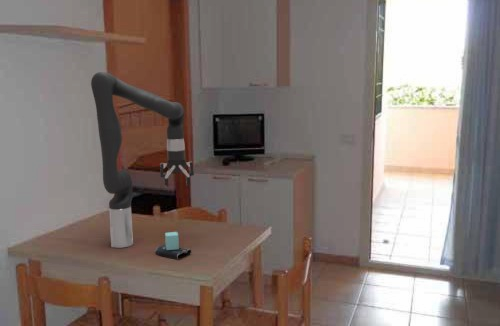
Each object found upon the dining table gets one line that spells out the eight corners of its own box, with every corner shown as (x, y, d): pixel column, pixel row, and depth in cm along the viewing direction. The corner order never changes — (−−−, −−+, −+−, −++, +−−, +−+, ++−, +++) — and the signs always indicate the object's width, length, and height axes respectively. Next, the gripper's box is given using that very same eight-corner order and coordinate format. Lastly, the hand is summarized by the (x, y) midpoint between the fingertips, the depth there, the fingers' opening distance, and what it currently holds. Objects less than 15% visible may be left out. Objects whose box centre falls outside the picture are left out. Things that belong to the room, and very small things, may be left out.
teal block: (166, 250, 204) (166, 236, 203) (165, 246, 209) (165, 232, 208) (178, 249, 205) (178, 235, 204) (177, 245, 210) (177, 231, 209)
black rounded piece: (192, 257, 208) (166, 246, 216) (192, 246, 206) (165, 235, 214) (177, 267, 201) (150, 255, 209) (177, 255, 199) (150, 244, 207)
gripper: (159, 151, 208) (161, 188, 211) (193, 149, 211) (194, 186, 214) (158, 148, 215) (160, 185, 218) (191, 147, 218) (193, 183, 221)
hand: (177, 185), depth 216 cm, fingers open, 8 cm apart
